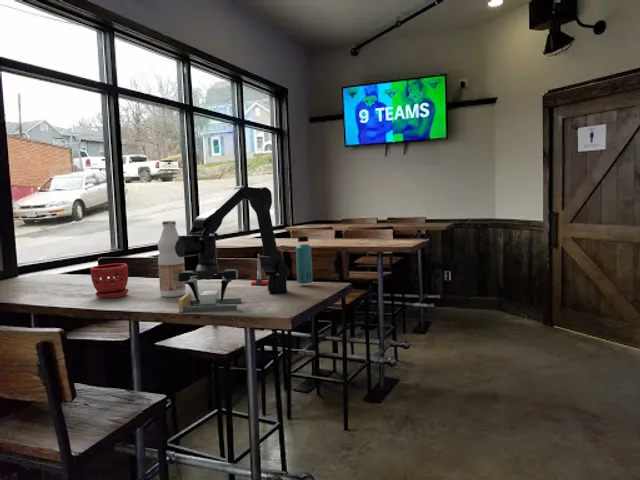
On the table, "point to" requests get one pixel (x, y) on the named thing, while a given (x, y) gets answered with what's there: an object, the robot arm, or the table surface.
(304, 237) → the beverage bottle
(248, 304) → the table surface
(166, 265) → the fruit juice
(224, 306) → the guide rails
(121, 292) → the plant pot
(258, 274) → the receipt spike
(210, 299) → the aluminium lock block
